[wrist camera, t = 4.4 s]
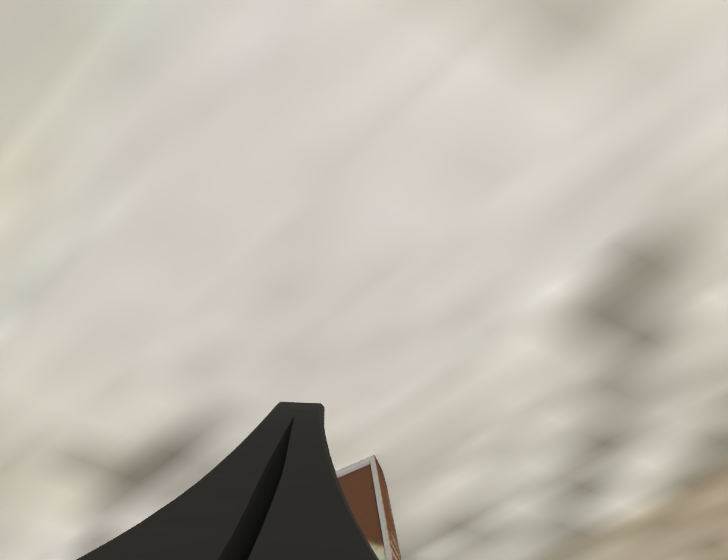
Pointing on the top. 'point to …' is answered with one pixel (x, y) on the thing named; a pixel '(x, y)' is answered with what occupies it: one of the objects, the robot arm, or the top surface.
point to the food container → (371, 505)
